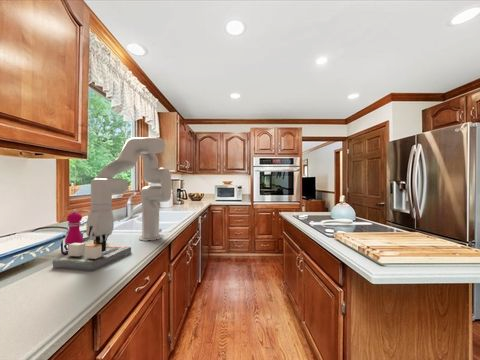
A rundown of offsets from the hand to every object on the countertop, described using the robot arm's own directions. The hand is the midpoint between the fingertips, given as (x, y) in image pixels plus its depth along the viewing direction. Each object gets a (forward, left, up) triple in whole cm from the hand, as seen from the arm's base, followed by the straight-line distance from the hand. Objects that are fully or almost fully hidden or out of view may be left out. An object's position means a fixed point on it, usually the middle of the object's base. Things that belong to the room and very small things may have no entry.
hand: (101, 251), depth 93 cm
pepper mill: (-12, -26, -5) cm, 30 cm away
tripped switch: (+4, 0, -1) cm, 4 cm away
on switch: (+3, -9, -1) cm, 10 cm away
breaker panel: (-2, -4, -5) cm, 7 cm away
